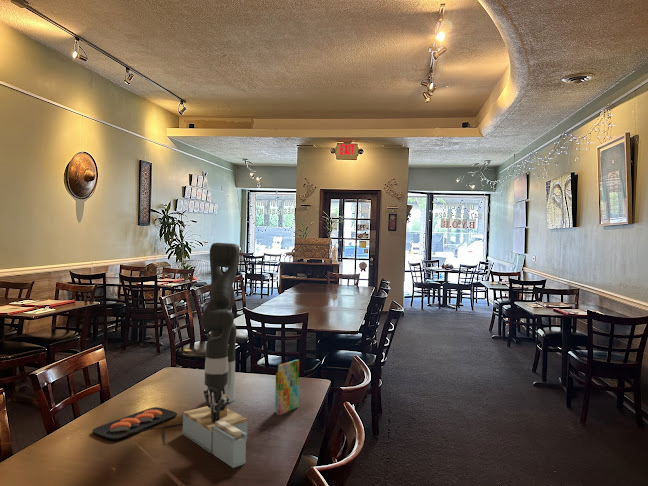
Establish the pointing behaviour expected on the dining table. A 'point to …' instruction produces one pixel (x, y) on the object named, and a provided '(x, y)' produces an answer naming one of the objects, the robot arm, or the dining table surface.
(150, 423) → the sushi plate
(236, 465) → the toolbox
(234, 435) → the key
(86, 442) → the dining table surface
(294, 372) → the puzzle game
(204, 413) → the lid
